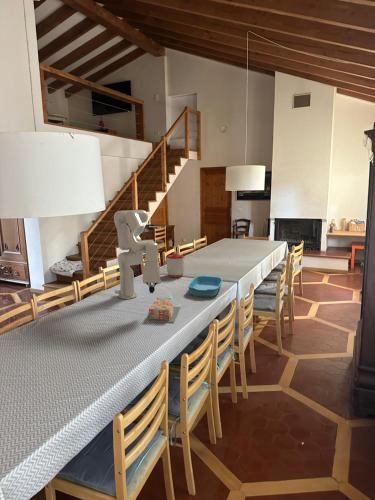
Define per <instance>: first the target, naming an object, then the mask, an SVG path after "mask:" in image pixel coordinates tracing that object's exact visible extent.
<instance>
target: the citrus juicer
mask: <svg viewBox="0 0 375 500" xmlns="http://www.w3.org/2000/svg"><path fill="white" fill-rule="evenodd" d="M185 257H186V256H184V255H182V254H181V255H180V254H178V253H176V252H175V253H173V254H171V255H167V257H166V258H165V259H166V260H165V261H164V263H165V264H166V272H167V276H168V277H169V278H181V277H183V276H184V273H185V272H184V271H185Z"/></svg>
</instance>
